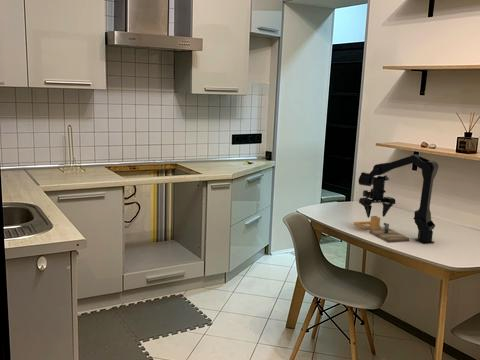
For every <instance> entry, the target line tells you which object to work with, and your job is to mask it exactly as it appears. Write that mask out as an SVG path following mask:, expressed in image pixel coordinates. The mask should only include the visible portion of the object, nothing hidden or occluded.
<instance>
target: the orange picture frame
mask: <svg viewBox="0 0 480 360" xmlns="http://www.w3.org/2000/svg"><path fill="white" fill-rule="evenodd" d="M380 224H381V217H379V216H377V215H372V216H371V215H370V220H365V221H364V220H363V221H354V222H353V225H355V226H357V227H359V228H360V229H363V230H380V229H381V225H380ZM365 225H366V226H365Z"/></svg>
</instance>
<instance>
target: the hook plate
mask: <svg viewBox="0 0 480 360" xmlns="http://www.w3.org/2000/svg"><path fill="white" fill-rule="evenodd" d="M383 226H384V228H383V229H381V228H379V230H371V229H369V234H371V235H373V236H374V237H377V238H379V239H380V240H383V241H385V242H387V244H389V243H399V242H400V243H401V242H403V243H404V242H410V237H408V236H406V235H404V234H402V233H399V232H397V231H395V230H393V229H392V228H390V223H386V222H384V223H383Z"/></svg>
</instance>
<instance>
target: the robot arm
mask: <svg viewBox="0 0 480 360" xmlns="http://www.w3.org/2000/svg"><path fill="white" fill-rule="evenodd" d="M411 164H413V165H414V166H416V167H417V168H419V169H421V175H422V188H421V195H420V203H419V208H418V209H417V210H415V211H414V217H413V220H414V223H415V226H417V230H418V231H417V232H418V233H417V238H415V239H414V240H415V241H417V242H419V243H421V244H423V245H425V244H435V241H433V234H434V231H433V230H434V229H435V227H436V224H435V223H434V222H433V220H432V213H431V209H430V207H431V206H430V205H431V199H432V194H433V185H434V181H435V180H434V179H435V177H436V176H437V173H438V171H439V164H438V162H437V161H436V160H430V159H427V158H425V157H422V156H420V155H418V154H411V155H410V156H406V157H403V158H400V159H396V160H394V161H390V162H382V163H376V164H374V165H373V167H372V170H371V171H370V172H369V173H368V172H364V171H363V172H361V173H360V175H359V177H358V184H359V185H360V186H365V187H371V186H372V188H370V191H369V190H365V189H364V190H363V191H362V197H360V198H359V199H358V203H359V204H360V205H361V206H363V207H364V209H365V214H366V217H367V218H368V219H369V218H371V212H372V204H377V203H378V204H379V203H380V204H381V203H382V204H381V205H382V217H386V215H387V213H388V212H389V211H390V209H391V208H392V207H393V206H394V205H396V199H395V198H394V197H391V196H384V195H385V193H386V192H387V191H386V190H385V184H386V181H390V178H389V176H388V175H386V174H387V173H389V172H391V171H393V170H395V169H397V168H398V169H399V168H401V167H404V166H405V167H406V166H408V165H411Z"/></svg>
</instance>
